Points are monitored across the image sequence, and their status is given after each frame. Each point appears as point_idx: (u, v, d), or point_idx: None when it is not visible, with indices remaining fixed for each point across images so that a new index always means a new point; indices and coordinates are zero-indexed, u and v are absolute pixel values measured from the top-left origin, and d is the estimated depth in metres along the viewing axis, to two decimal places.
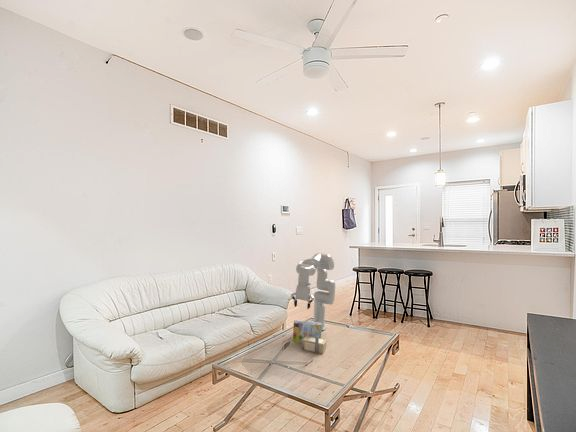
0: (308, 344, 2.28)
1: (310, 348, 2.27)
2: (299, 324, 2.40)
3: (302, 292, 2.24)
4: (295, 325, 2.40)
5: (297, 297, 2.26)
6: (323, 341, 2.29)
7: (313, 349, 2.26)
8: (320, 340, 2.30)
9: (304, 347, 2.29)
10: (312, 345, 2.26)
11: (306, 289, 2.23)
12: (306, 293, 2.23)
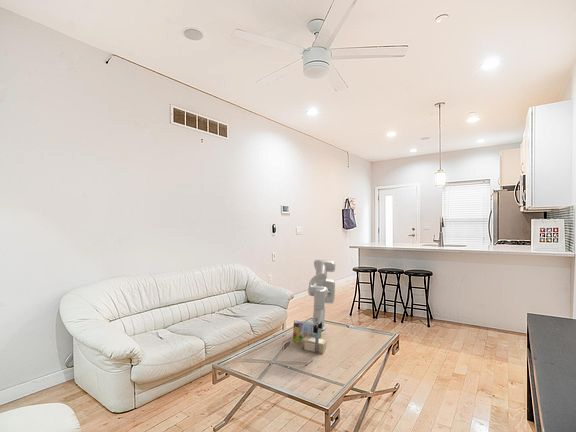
0: (308, 344, 2.28)
1: (310, 348, 2.27)
2: (299, 324, 2.40)
3: (322, 314, 2.23)
4: (295, 325, 2.40)
5: (319, 322, 2.20)
6: (323, 341, 2.29)
7: (313, 349, 2.26)
8: (320, 340, 2.30)
9: (304, 347, 2.29)
10: (312, 345, 2.26)
11: None
12: (323, 314, 2.26)
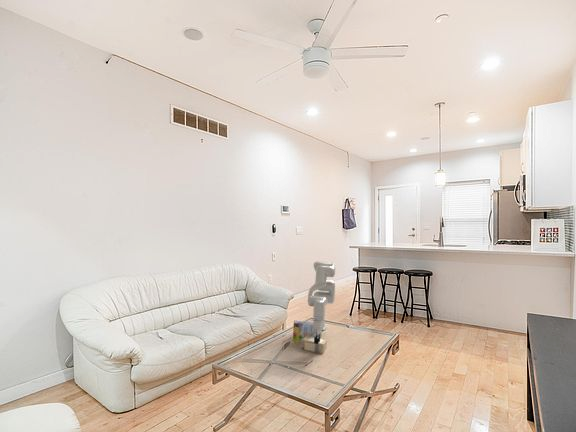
0: (308, 344, 2.28)
1: (310, 348, 2.27)
2: (299, 324, 2.40)
3: (321, 325, 2.23)
4: (295, 325, 2.40)
5: (319, 333, 2.20)
6: (323, 341, 2.29)
7: (313, 349, 2.26)
8: (320, 340, 2.30)
9: (304, 347, 2.29)
10: (312, 345, 2.26)
11: (322, 320, 2.26)
12: (322, 324, 2.26)
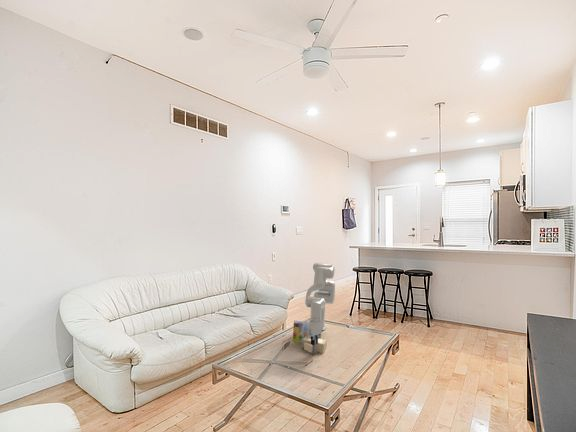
0: (307, 345, 2.27)
1: (309, 349, 2.25)
2: (299, 324, 2.40)
3: (318, 327, 2.20)
4: (295, 325, 2.40)
5: (313, 334, 2.18)
6: (323, 341, 2.29)
7: (311, 350, 2.24)
8: (320, 340, 2.30)
9: (304, 347, 2.29)
10: (310, 346, 2.25)
11: (320, 322, 2.22)
12: (320, 326, 2.22)
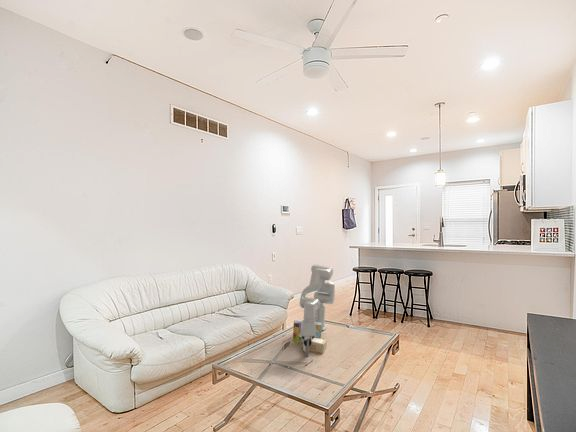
0: (304, 345, 2.26)
1: (305, 350, 2.24)
2: (299, 324, 2.40)
3: (310, 328, 2.16)
4: (295, 325, 2.40)
5: (304, 334, 2.16)
6: (323, 341, 2.29)
7: None
8: (320, 340, 2.30)
9: (303, 347, 2.28)
10: (306, 347, 2.23)
11: (314, 324, 2.17)
12: (314, 329, 2.17)
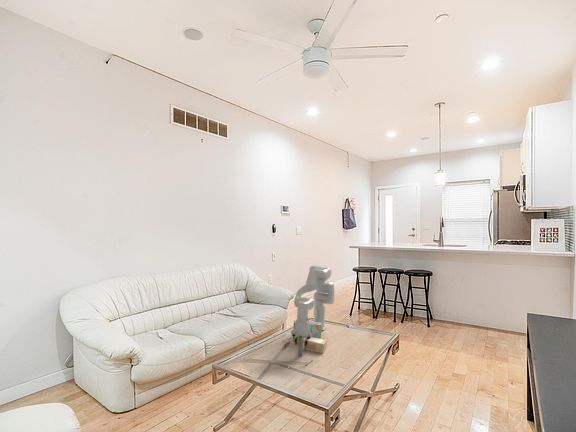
0: None
1: None
2: None
3: (301, 328, 2.16)
4: None
5: (296, 333, 2.17)
6: (323, 341, 2.29)
7: None
8: (320, 340, 2.30)
9: None
10: None
11: (306, 325, 2.16)
12: (306, 329, 2.16)
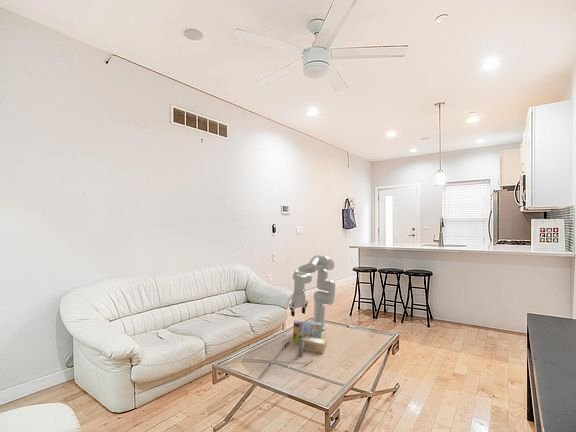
0: None
1: None
2: (299, 324, 2.40)
3: (301, 300, 2.28)
4: (295, 325, 2.40)
5: (296, 306, 2.27)
6: (323, 341, 2.29)
7: None
8: (320, 340, 2.30)
9: None
10: None
11: (304, 295, 2.30)
12: (304, 299, 2.30)
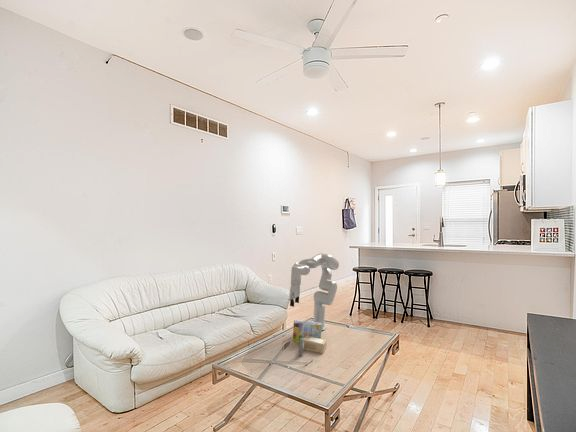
0: None
1: None
2: (299, 324, 2.40)
3: (298, 289, 2.40)
4: (295, 325, 2.40)
5: (296, 296, 2.37)
6: (323, 341, 2.29)
7: None
8: (320, 340, 2.30)
9: None
10: None
11: (299, 285, 2.43)
12: (299, 289, 2.43)
